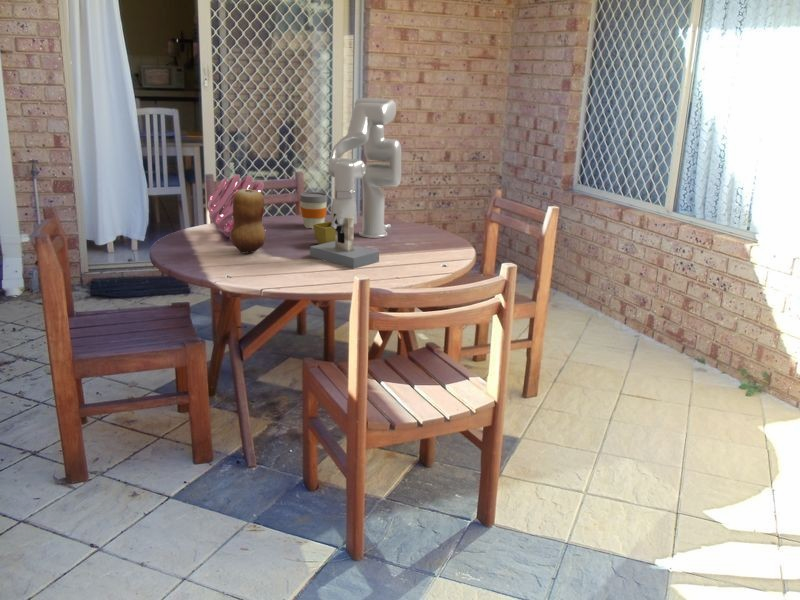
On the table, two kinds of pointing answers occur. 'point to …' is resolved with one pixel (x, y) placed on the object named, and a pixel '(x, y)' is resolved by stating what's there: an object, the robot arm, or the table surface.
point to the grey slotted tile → (344, 255)
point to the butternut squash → (248, 220)
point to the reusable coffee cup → (313, 208)
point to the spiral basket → (228, 209)
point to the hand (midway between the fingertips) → (344, 241)
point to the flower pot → (324, 232)
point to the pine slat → (346, 236)
